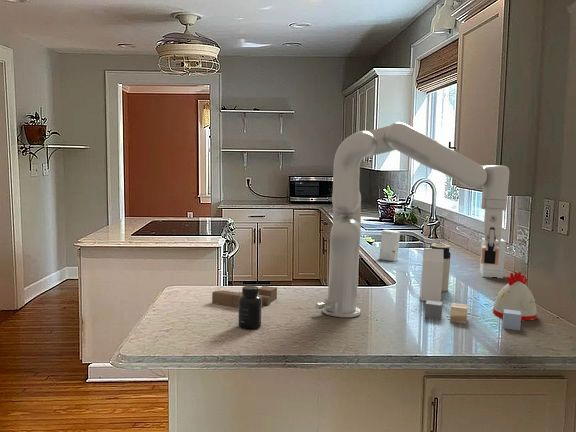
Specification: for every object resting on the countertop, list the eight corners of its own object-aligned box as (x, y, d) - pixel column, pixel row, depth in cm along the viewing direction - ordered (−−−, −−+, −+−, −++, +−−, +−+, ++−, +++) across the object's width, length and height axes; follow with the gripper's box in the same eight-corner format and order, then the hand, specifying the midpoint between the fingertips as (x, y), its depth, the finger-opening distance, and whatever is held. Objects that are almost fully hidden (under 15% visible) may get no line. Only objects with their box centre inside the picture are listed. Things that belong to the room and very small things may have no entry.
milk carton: (440, 302, 211) (444, 251, 209) (420, 300, 212) (424, 249, 210) (439, 298, 218) (443, 248, 216) (420, 296, 219) (423, 246, 217)
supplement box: (503, 278, 258) (506, 241, 256) (482, 277, 260) (484, 240, 258) (499, 274, 268) (502, 238, 266) (478, 272, 269) (481, 237, 267)
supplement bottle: (249, 321, 178) (250, 283, 176) (265, 326, 173) (267, 287, 172) (233, 326, 172) (234, 287, 171) (250, 331, 168) (251, 291, 167)
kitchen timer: (484, 311, 202) (487, 268, 200) (515, 308, 207) (519, 267, 205) (512, 322, 189) (516, 277, 187) (545, 319, 194) (549, 275, 192)
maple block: (466, 323, 185) (467, 308, 185) (449, 321, 187) (451, 306, 186) (466, 319, 190) (467, 304, 190) (450, 317, 192) (451, 303, 191)
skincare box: (379, 259, 294) (380, 230, 293) (382, 257, 300) (384, 229, 298) (395, 261, 290) (396, 232, 289) (398, 259, 296) (400, 230, 294)
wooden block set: (259, 295, 190) (211, 288, 197) (258, 312, 190) (211, 305, 197) (280, 285, 205) (235, 279, 212) (279, 300, 206) (234, 294, 213)
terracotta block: (497, 265, 181) (499, 249, 180) (481, 263, 182) (482, 247, 182) (497, 262, 185) (498, 247, 185) (481, 260, 187) (482, 245, 186)
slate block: (520, 330, 180) (521, 314, 180) (503, 328, 182) (504, 312, 181) (519, 326, 185) (520, 310, 184) (502, 324, 187) (503, 309, 186)
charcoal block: (440, 320, 188) (441, 305, 187) (424, 318, 189) (425, 303, 189) (441, 316, 193) (442, 301, 192) (426, 314, 194) (427, 300, 194)
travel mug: (427, 290, 229) (430, 245, 227) (427, 286, 236) (430, 243, 234) (448, 292, 227) (451, 247, 225) (447, 288, 234) (450, 244, 233)
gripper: (507, 207, 173) (502, 267, 174) (505, 203, 189) (501, 258, 191) (481, 206, 175) (476, 265, 177) (481, 202, 191) (477, 256, 193)
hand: (489, 261), depth 184 cm, fingers closed on terracotta block, 4 cm apart
